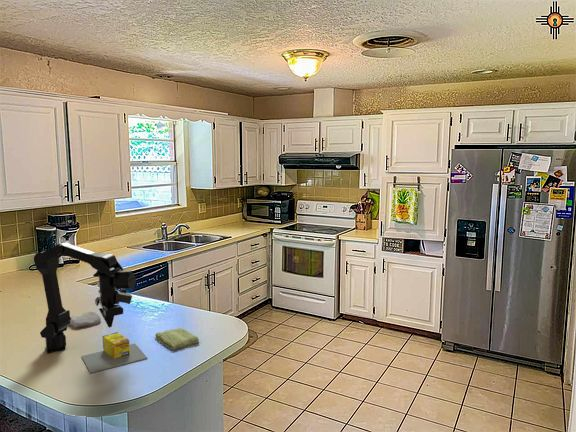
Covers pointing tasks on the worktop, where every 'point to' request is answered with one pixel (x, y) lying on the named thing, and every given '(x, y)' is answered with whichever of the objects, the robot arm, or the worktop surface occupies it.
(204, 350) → the worktop surface
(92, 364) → the grey mat
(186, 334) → the washcloth
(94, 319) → the stone block
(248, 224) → the worktop surface
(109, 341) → the supplement box
